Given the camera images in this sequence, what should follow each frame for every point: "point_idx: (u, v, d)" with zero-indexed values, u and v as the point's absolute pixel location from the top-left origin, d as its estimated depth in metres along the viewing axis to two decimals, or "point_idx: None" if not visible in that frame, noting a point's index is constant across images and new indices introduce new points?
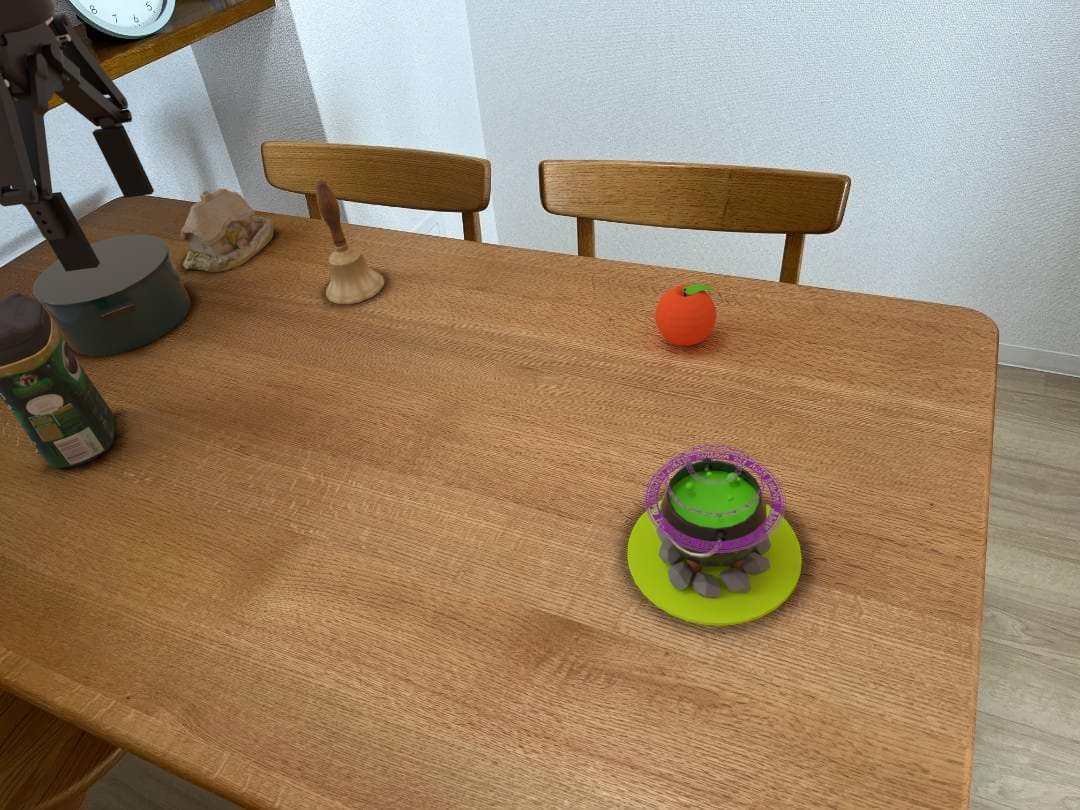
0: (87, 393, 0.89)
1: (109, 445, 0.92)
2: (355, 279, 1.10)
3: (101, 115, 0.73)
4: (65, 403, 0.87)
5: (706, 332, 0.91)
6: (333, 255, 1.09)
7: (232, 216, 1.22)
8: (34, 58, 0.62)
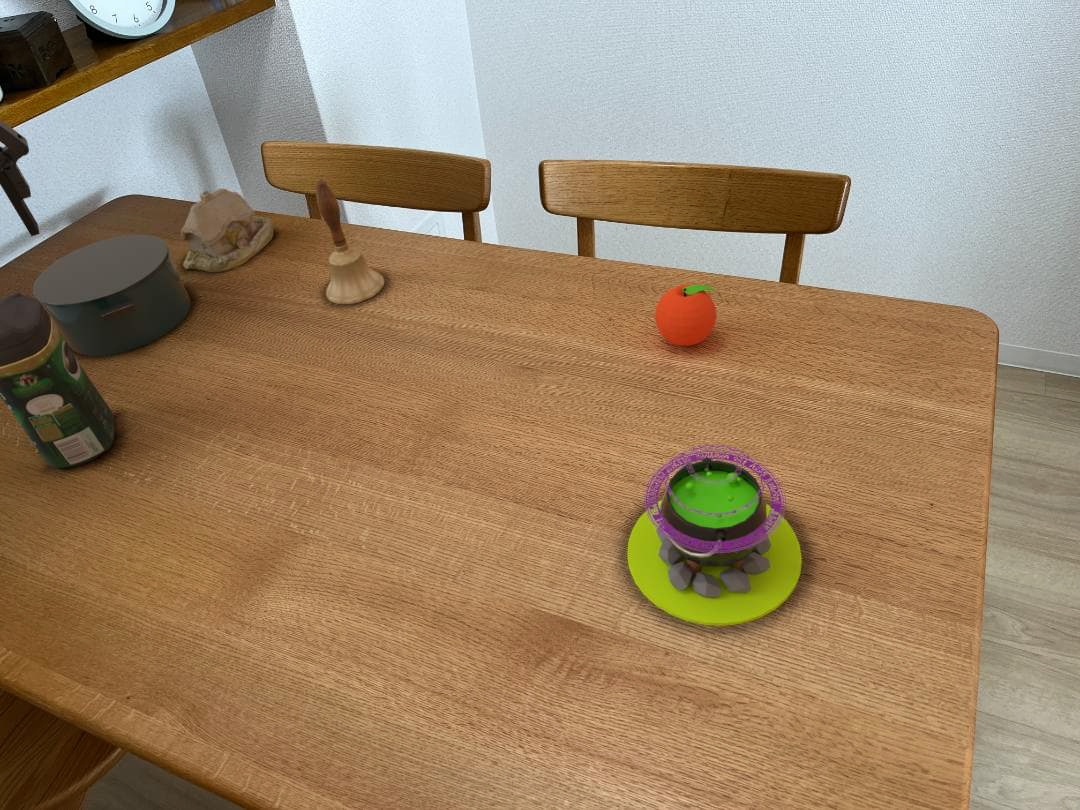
0: (87, 393, 0.89)
1: (109, 445, 0.92)
2: (355, 279, 1.10)
3: None
4: (65, 403, 0.87)
5: (706, 332, 0.91)
6: (333, 255, 1.09)
7: (232, 216, 1.22)
8: None
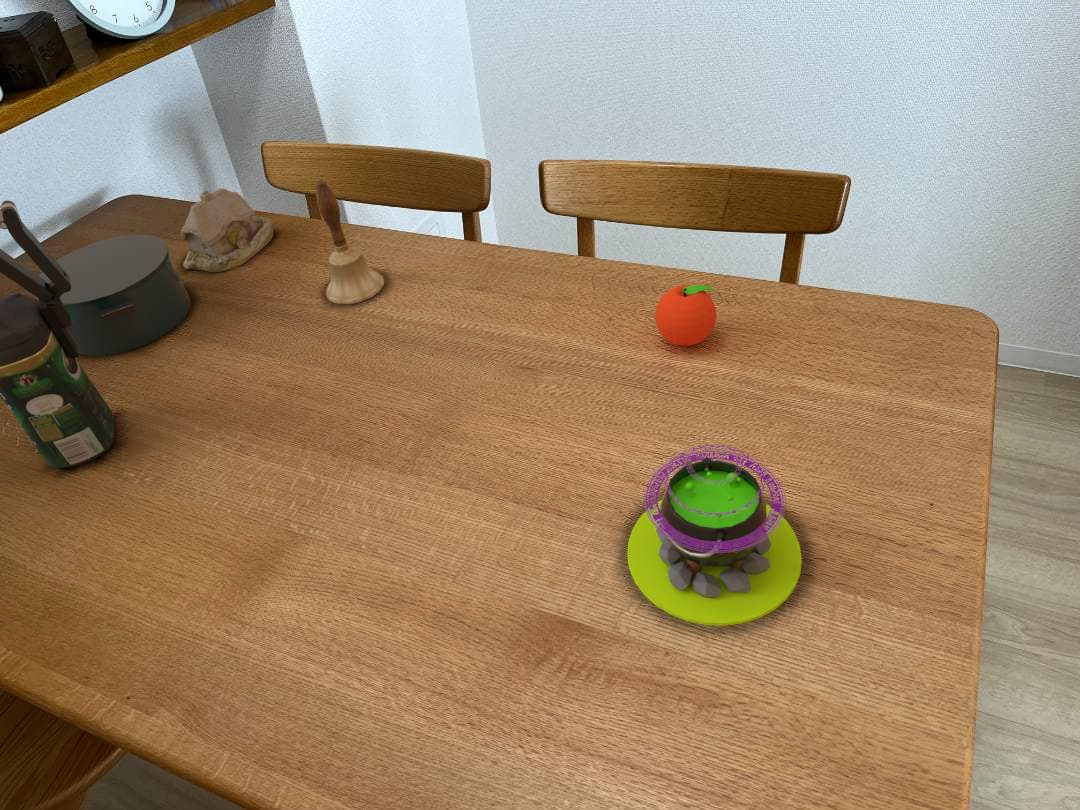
0: (86, 393, 0.89)
1: (109, 445, 0.92)
2: (355, 279, 1.10)
3: None
4: (65, 403, 0.87)
5: (706, 332, 0.91)
6: (333, 255, 1.09)
7: (232, 216, 1.22)
8: None
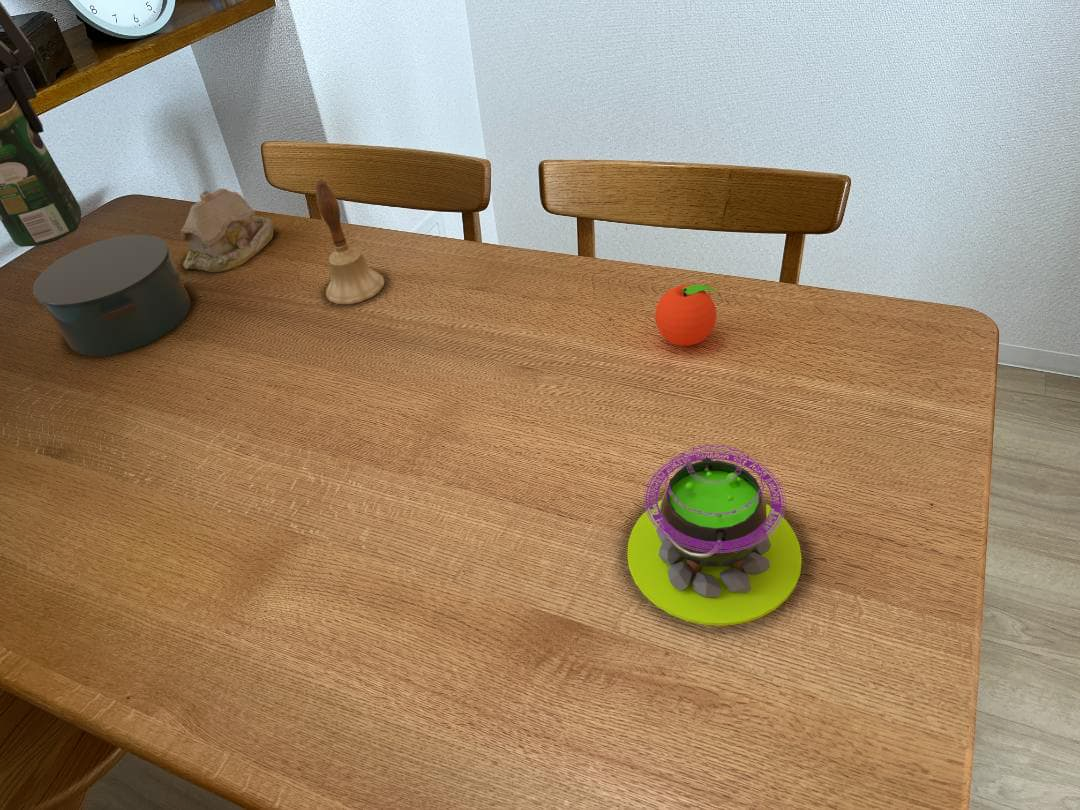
0: (51, 171, 0.92)
1: (74, 228, 0.95)
2: (355, 279, 1.10)
3: None
4: (29, 174, 0.90)
5: (706, 332, 0.91)
6: (333, 255, 1.09)
7: (232, 216, 1.22)
8: None
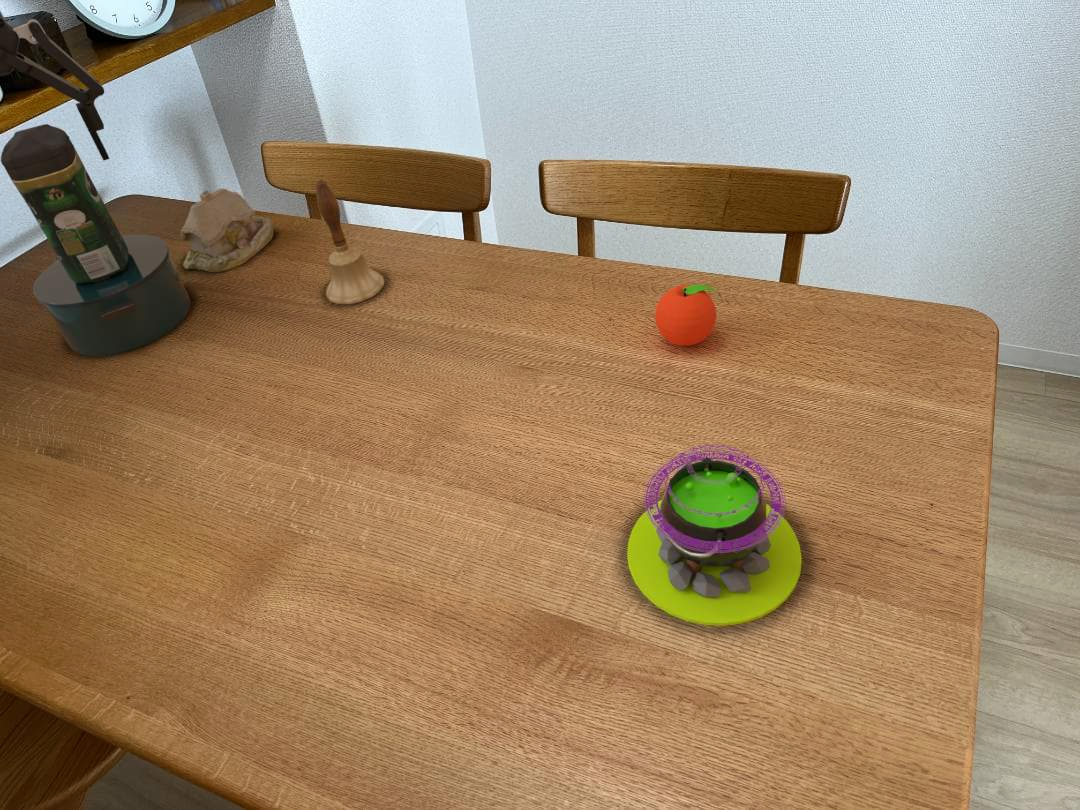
0: (105, 216, 1.04)
1: (124, 265, 1.07)
2: (355, 279, 1.10)
3: None
4: (87, 220, 1.01)
5: (706, 332, 0.91)
6: (333, 255, 1.09)
7: (232, 216, 1.22)
8: None
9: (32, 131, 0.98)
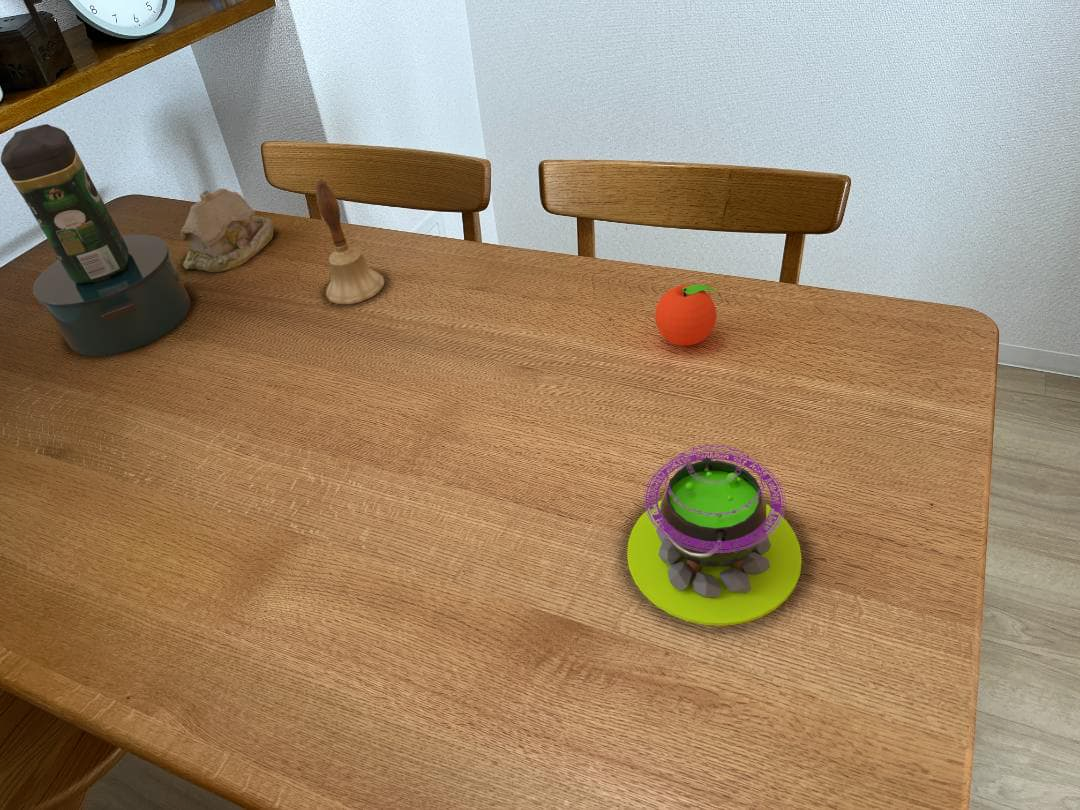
0: (105, 216, 1.04)
1: (124, 265, 1.07)
2: (355, 279, 1.10)
3: None
4: (87, 220, 1.01)
5: (706, 332, 0.91)
6: (333, 255, 1.09)
7: (232, 216, 1.22)
8: None
9: (32, 131, 0.98)
